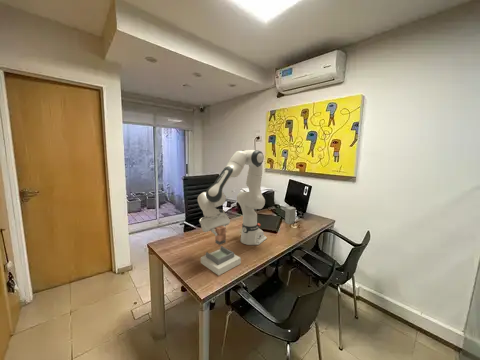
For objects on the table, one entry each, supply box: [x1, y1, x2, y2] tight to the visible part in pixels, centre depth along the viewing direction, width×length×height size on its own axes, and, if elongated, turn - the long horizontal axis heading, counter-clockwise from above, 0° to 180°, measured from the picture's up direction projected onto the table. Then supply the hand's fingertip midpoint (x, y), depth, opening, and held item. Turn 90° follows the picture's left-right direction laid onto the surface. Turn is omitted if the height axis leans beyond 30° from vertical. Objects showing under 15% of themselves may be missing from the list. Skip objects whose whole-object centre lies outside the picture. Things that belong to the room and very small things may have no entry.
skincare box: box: [284, 206, 297, 225], centre depth 203 cm, size 8×7×16 cm
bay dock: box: [200, 245, 242, 276], centre depth 129 cm, size 18×18×7 cm
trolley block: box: [214, 226, 227, 246], centre depth 127 cm, size 5×4×10 cm
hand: (221, 234), depth 126 cm, fingers closed on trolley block, 5 cm apart
